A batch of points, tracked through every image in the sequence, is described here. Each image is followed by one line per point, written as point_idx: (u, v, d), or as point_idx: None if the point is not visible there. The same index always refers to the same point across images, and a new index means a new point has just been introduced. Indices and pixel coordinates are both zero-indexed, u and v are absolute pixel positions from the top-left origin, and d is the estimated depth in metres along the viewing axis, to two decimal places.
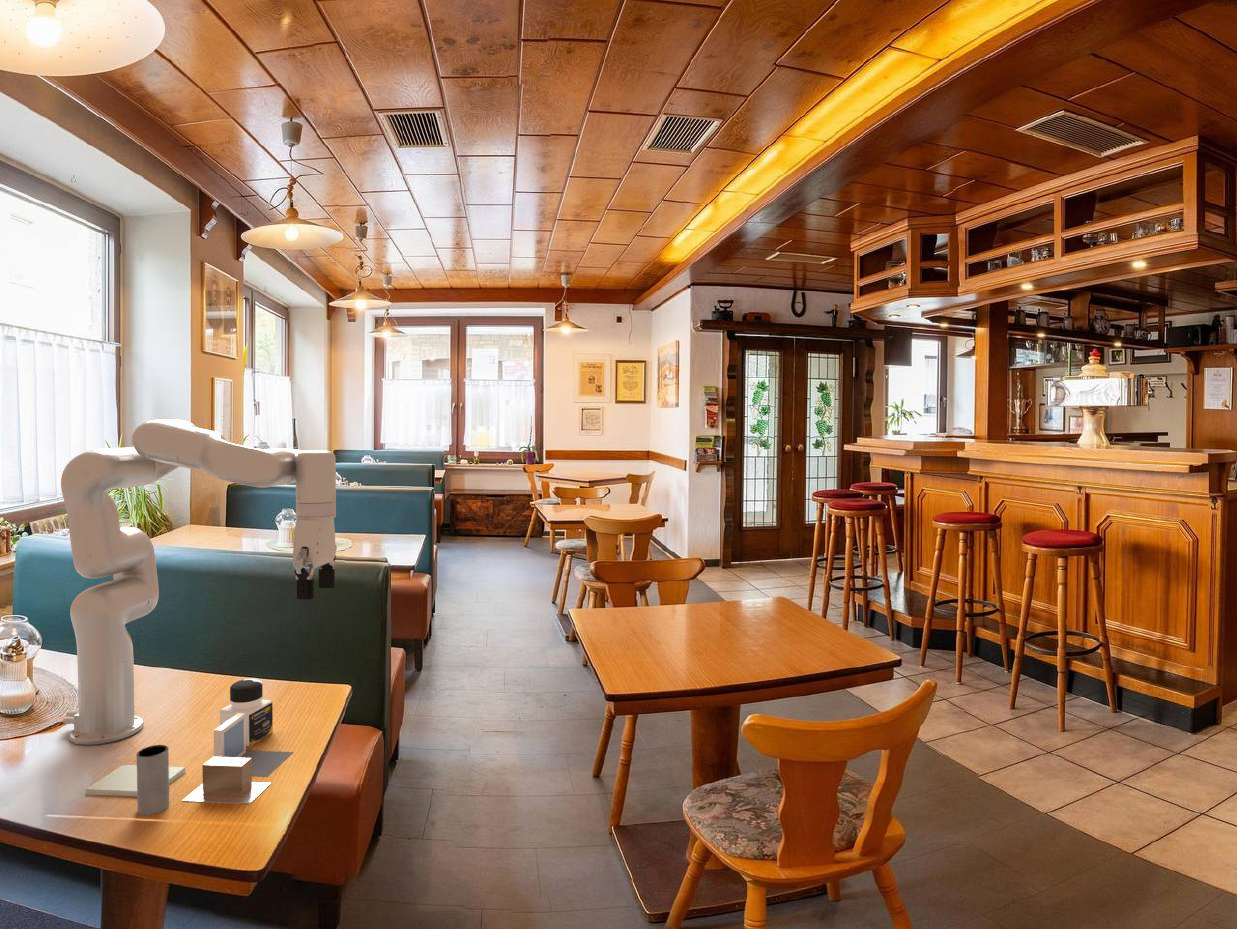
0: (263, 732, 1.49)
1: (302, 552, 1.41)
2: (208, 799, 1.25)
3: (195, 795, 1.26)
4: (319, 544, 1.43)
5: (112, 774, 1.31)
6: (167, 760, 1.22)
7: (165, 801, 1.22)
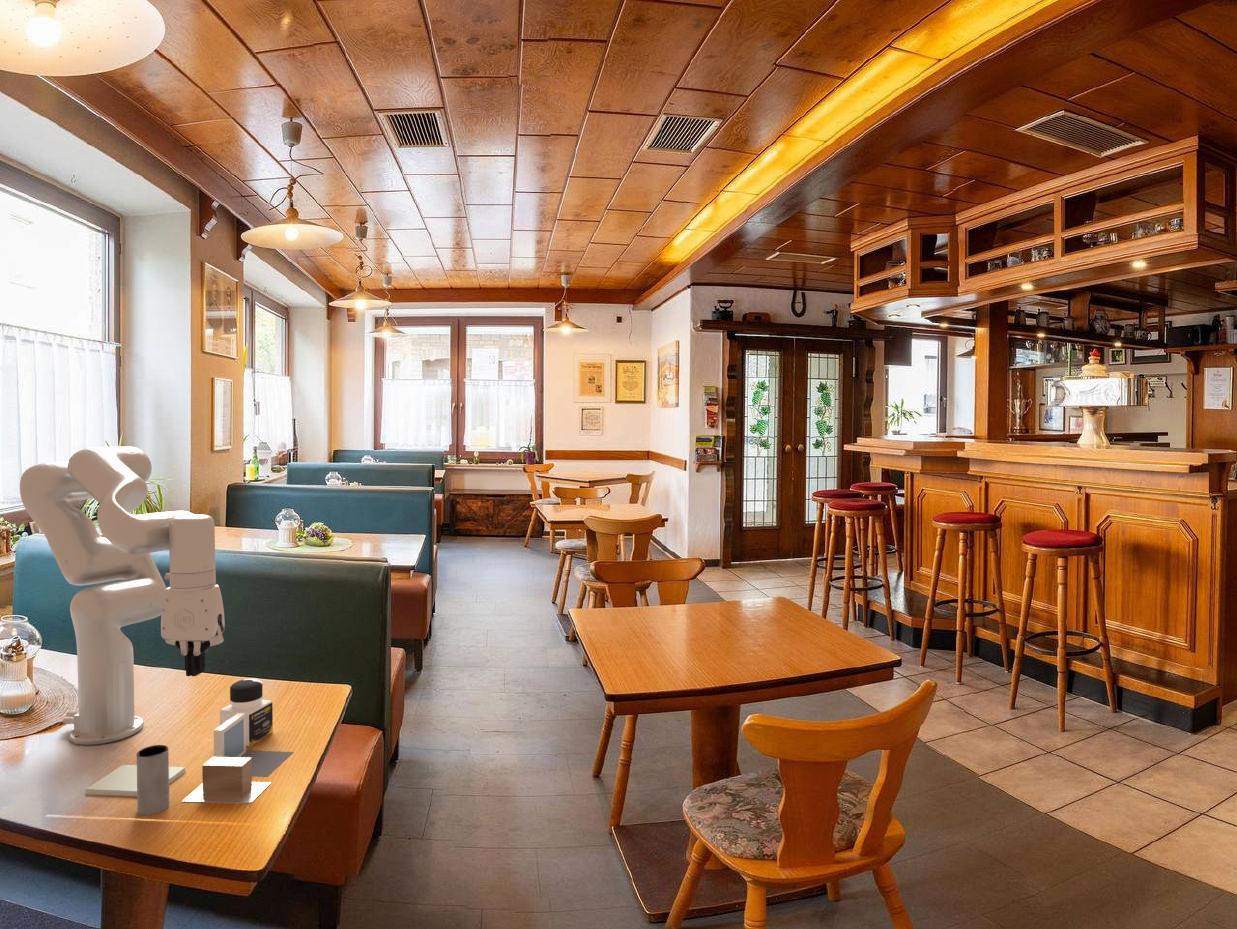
0: (263, 732, 1.49)
1: (218, 627, 1.37)
2: (208, 799, 1.25)
3: (195, 795, 1.26)
4: None
5: (112, 774, 1.31)
6: (167, 760, 1.22)
7: (165, 801, 1.22)
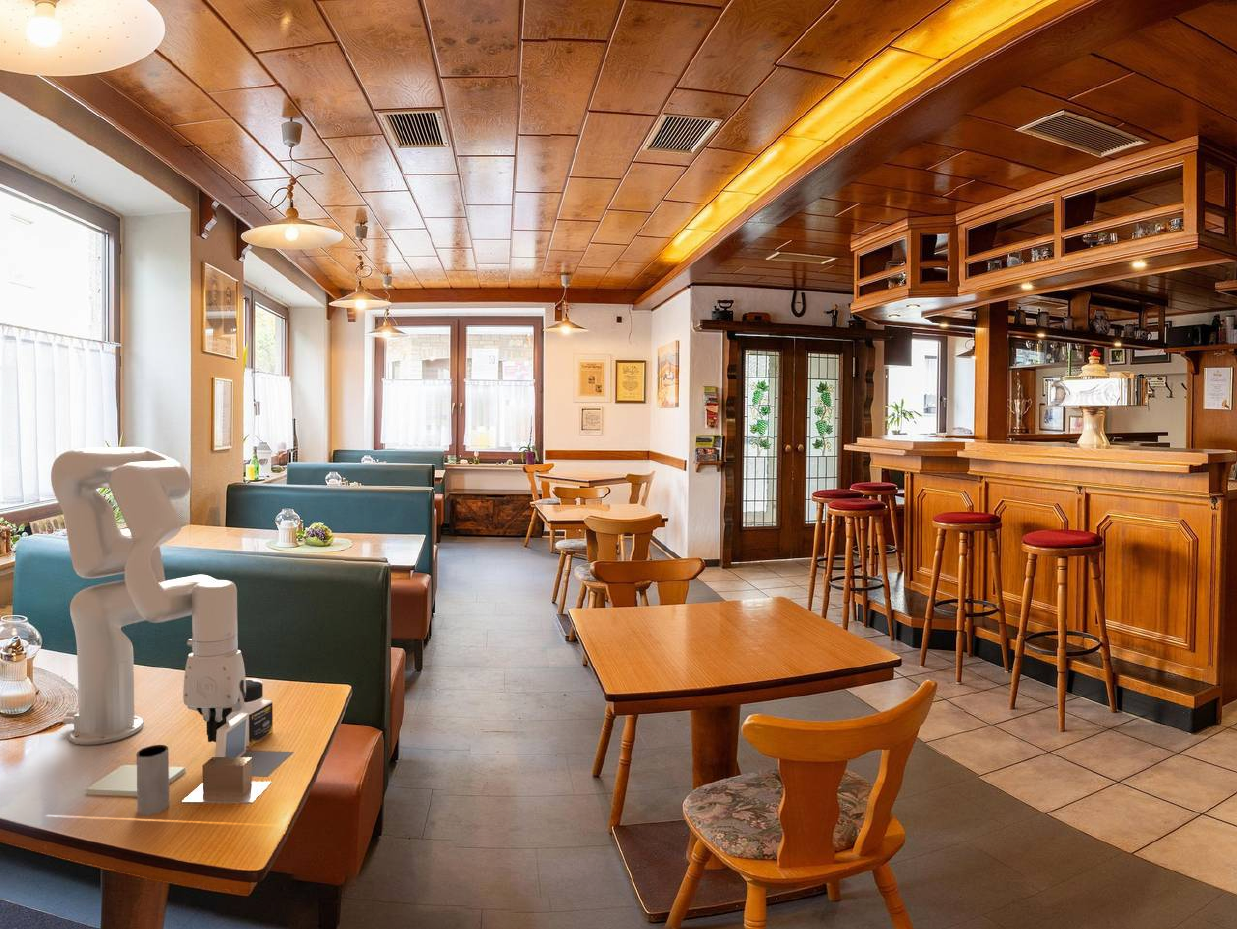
0: (263, 732, 1.49)
1: (239, 693, 1.38)
2: (208, 799, 1.25)
3: (195, 795, 1.26)
4: None
5: (112, 774, 1.31)
6: (167, 760, 1.22)
7: (165, 801, 1.22)
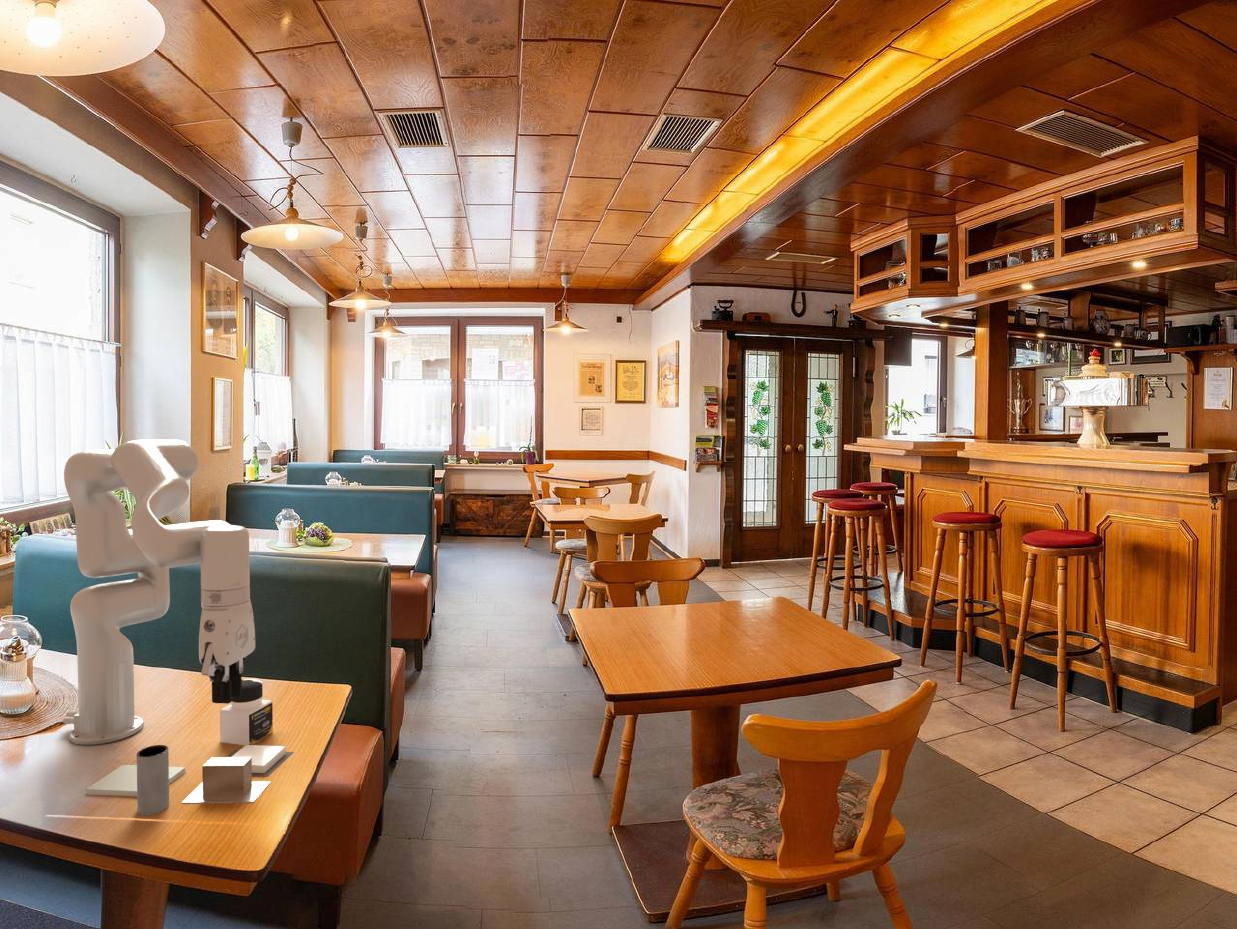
0: (263, 732, 1.49)
1: None
2: (209, 799, 1.25)
3: (195, 796, 1.26)
4: None
5: (112, 774, 1.31)
6: (167, 760, 1.22)
7: (165, 801, 1.22)
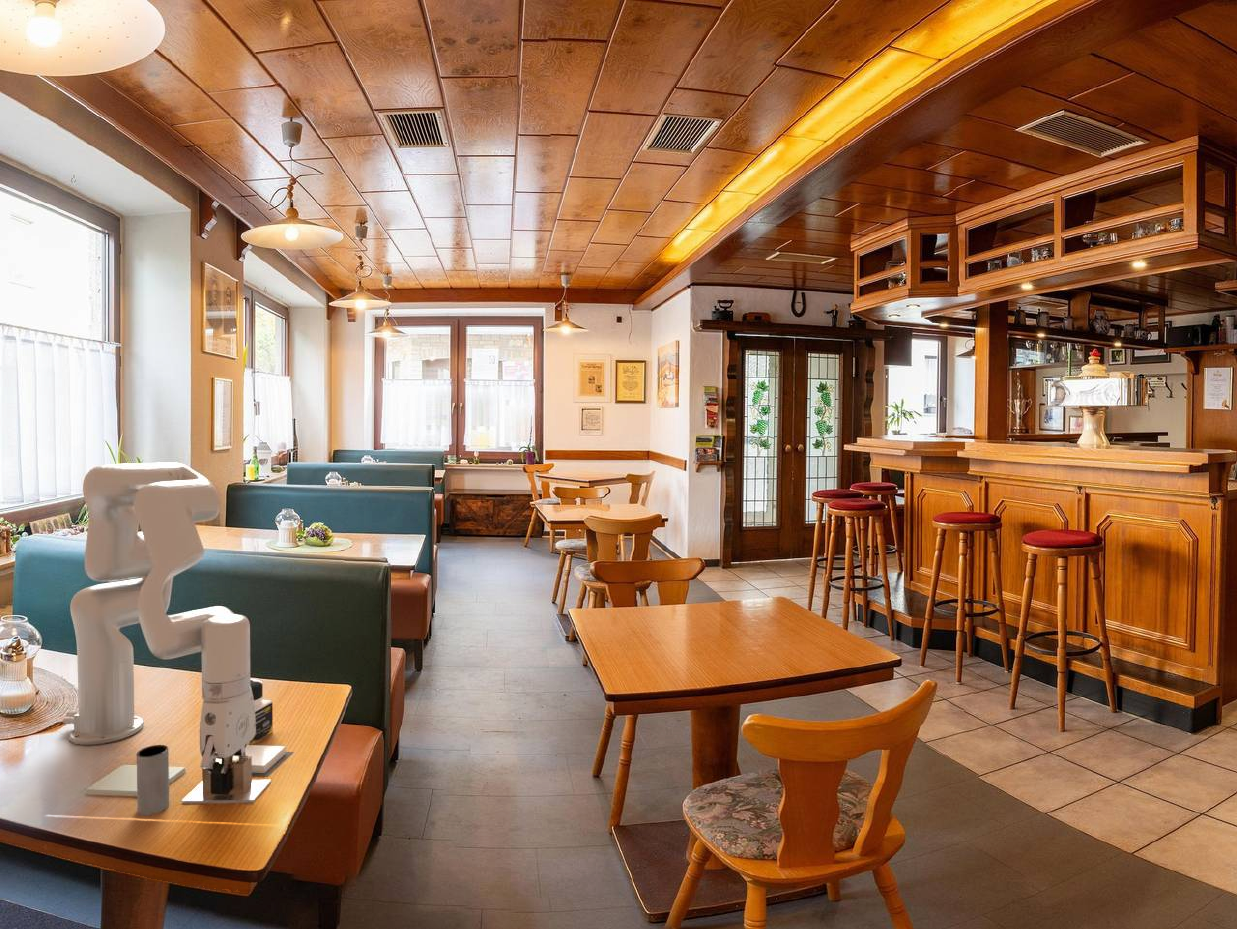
0: (263, 732, 1.49)
1: None
2: (208, 797, 1.25)
3: (195, 794, 1.25)
4: None
5: (112, 774, 1.31)
6: (167, 760, 1.22)
7: (165, 801, 1.22)
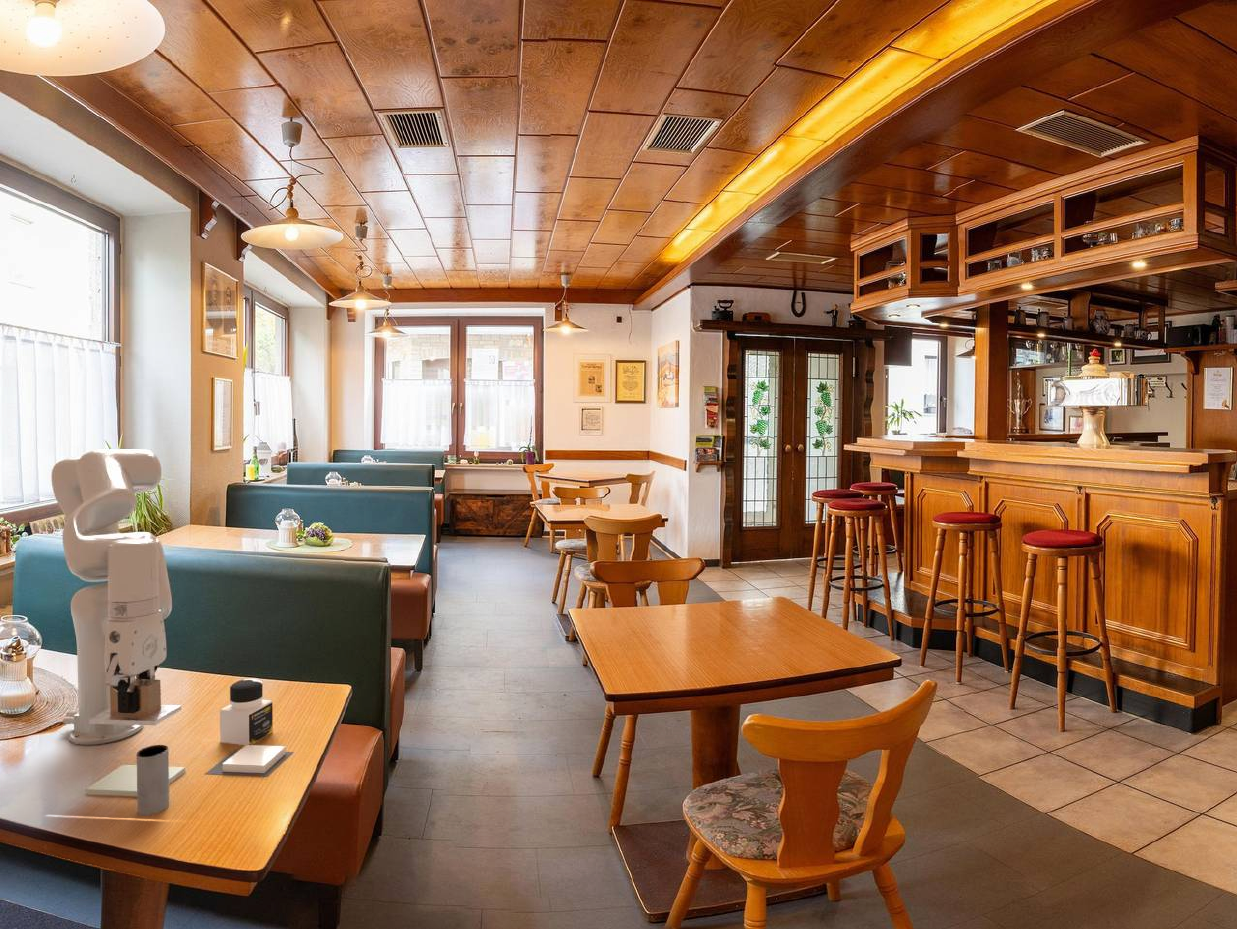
0: (263, 732, 1.49)
1: None
2: (115, 717, 1.27)
3: (103, 715, 1.28)
4: None
5: (112, 774, 1.31)
6: (167, 760, 1.22)
7: (165, 801, 1.22)
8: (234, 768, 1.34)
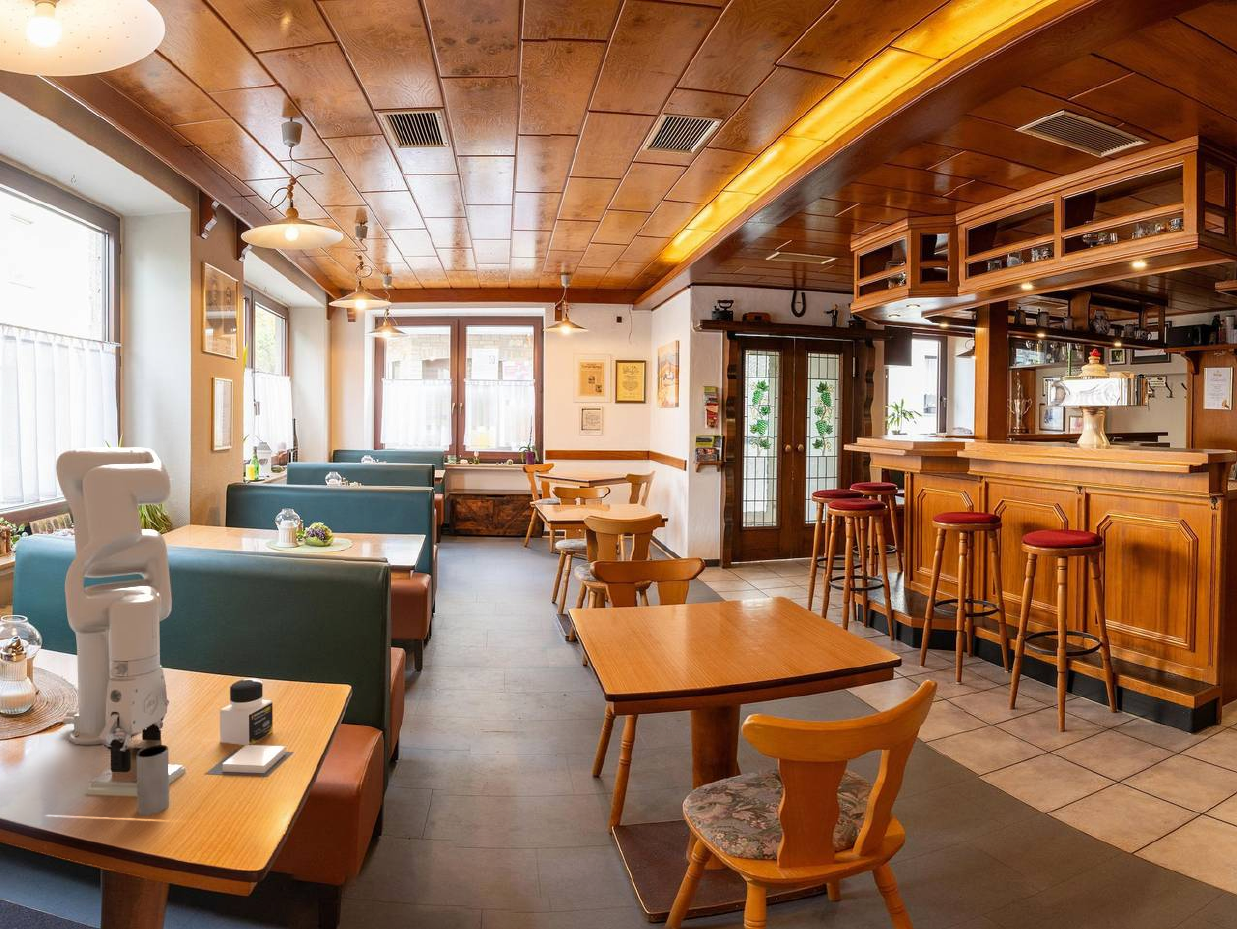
0: (263, 732, 1.49)
1: None
2: (116, 780, 1.28)
3: (105, 776, 1.29)
4: None
5: None
6: (167, 760, 1.22)
7: (165, 801, 1.22)
8: (234, 768, 1.34)
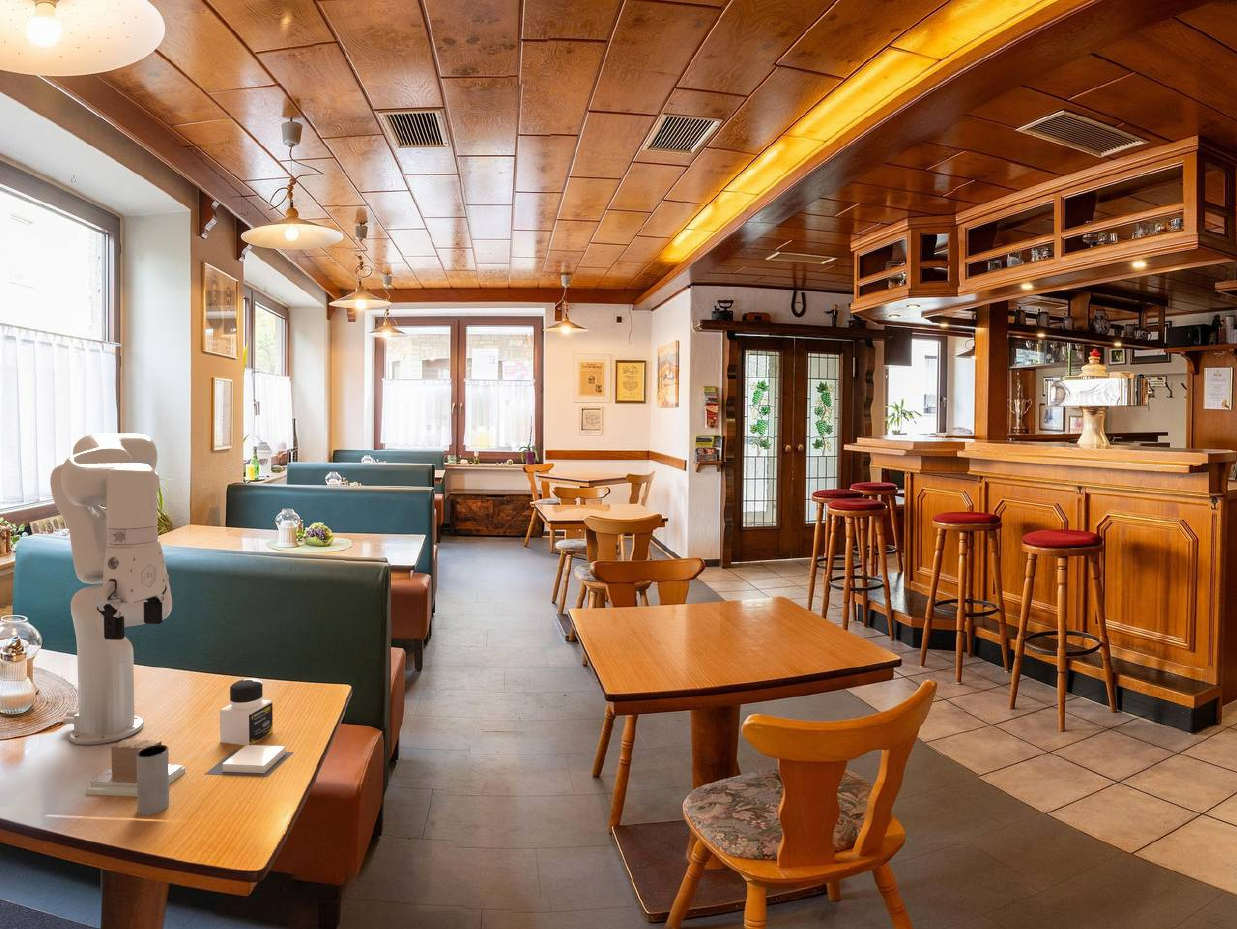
0: (263, 732, 1.49)
1: None
2: (116, 780, 1.28)
3: (105, 776, 1.29)
4: None
5: None
6: (167, 760, 1.22)
7: (165, 801, 1.22)
8: (234, 768, 1.34)
